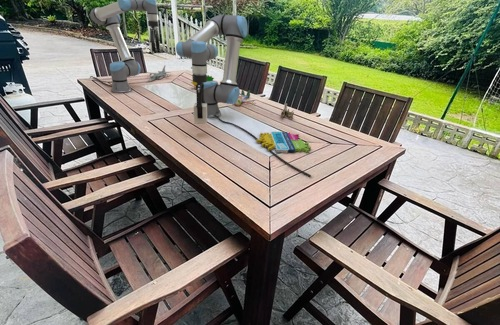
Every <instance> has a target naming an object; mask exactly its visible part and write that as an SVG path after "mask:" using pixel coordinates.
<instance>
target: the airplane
mask: <svg viewBox="0 0 500 325" xmlns="http://www.w3.org/2000/svg"><path fill="white" fill-rule="evenodd" d="M157 72H158V73H157ZM157 72H145V73H146V74H149V75H148V77H150V78H148V79H147V81H146V83H150V82H152V81H155V80H158V79H159V80H161V79H163V78H169V76H170V75H169V74H171V73H172V72H170V71H166V65H164V66H163V68H162V70H157Z"/></svg>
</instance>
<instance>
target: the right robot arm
mask: <svg viewBox="0 0 500 325" xmlns="http://www.w3.org/2000/svg"><path fill="white" fill-rule="evenodd" d="M248 28H249V27H248V21H247V18H246V17H244V16H243V15H238V14H237V15H236V14H217V15H215V16H213V17H211V18H210V19H208V20H207V21H206V22H205V23H204V26H202V27H201V28H200V29H199V30H197V31H196V32H195V33H194V34H193V35H192V36H190V37H189V38H188V39H187V40H186V41H178V42H177V43H176V45H175V51H176V54H177V55H178V56H179V57H182V58H191V66H190V69H191V72H192V75H191V76H192V81H193V82H196V83H197V85H196V87H195V92H196V103H197V106H196V107H197V116H198V118H200V119H203V112H202V103H207V119H214V118H217V119H218V120H219V121H220V122H222V123H224V124H228V125H233V126H235V127H237V128H238V129H240V130H242V131H244V132H246V133H247V134H248V135H250V136H251V137H253V139H255V140H256V141H257V139H258V137H256V136H255V135H254V134H253V133H252V132H249V131H248V130H247V129H244V128H243V127H241V126H239V125H236V124H235V123H232V122H229V121H225V120H222V118H220V117H221V110H220V108H219V103H222V104H227V105H234V104H235V103H236V102H237V100H238V98H239V96H240V95H241V93H240V92H241V91H240V87H238V85H239V84H238V83H237V74H238V67H239V57H240V51H241V50H240V49H241V44H242V42H244V38H246V37H247V36H248V30H249V29H248ZM217 36H224V38H225V40H226V46H225V47H226V48H225V57H224V64H223V74H222V79H221V80H220V81H219V82H218V81H217V80H213V81H207V76H208V75H207V74H208V65H207V64H208V61H210V60H214V59H216V58H217V57H218V53H219V50H218V48H217V45H214V43H213V44H211V43H208V42H209V41H210V40H211V39H212V38H215V37H217ZM207 43H208V44H207ZM193 73H194V74H193ZM259 144H261V145H262V142H260V143H259ZM264 148H265V145H264ZM265 149H266V150H268V147H266V148H265ZM268 152H270V153H271V154H272V155H274V156H275V157H276V158H277V159H279V160H280V161H281V162H283V163H285V164H286V165H287V166H289V167H291V168H292V169H294V170H296V171H298V172H300V173H302V174H303V175H306V176H307V177H309V178H310V177H312V174H310V173H307V172H306V171H303V170H301V169H300V168H298V167H296V166H294V165H292V164H291V163H289V162H288V161H286V160H285V159H283V158H282V157H280V156H279V155H278V154H276V153H275V152H274V151H273V150H272V149H271V150H269V151H268Z"/></svg>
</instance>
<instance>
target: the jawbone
mask: <svg viewBox="0 0 500 325" xmlns="http://www.w3.org/2000/svg"><path fill="white" fill-rule="evenodd" d="M294 111H295V110H294V109H293V110H292V111H291V112H290V108H288V103H284V107H283V109H281V113H280V119H283V118H284V117H285V116H286V117H287V118H289V120H293V119H294V115H295V114H294Z"/></svg>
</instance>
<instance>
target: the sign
mask: <svg viewBox="0 0 500 325" xmlns="http://www.w3.org/2000/svg"><path fill="white" fill-rule="evenodd" d="M299 136H300V135H299V134H298V133H296V134H294V133H291V132H287V131H270V132H264V133H263V132H260V133H259V138H257V140H256V143H257V144H261V143H260V142H262V144H261V148H263V147H264V145H265V147H264V148H265V149H267V148H266V147H268V149H267V151H268V152H270V151H269V150H271V151H272V150H273V149H275V152H276V153H283V154H285V153H287V154H288V153H290V154H293V153H296V152H298V153H301V152H305V153H310V151H311V150H312V149H311V148H312V146H309V142H304V141H303V139H302V138H299Z"/></svg>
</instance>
